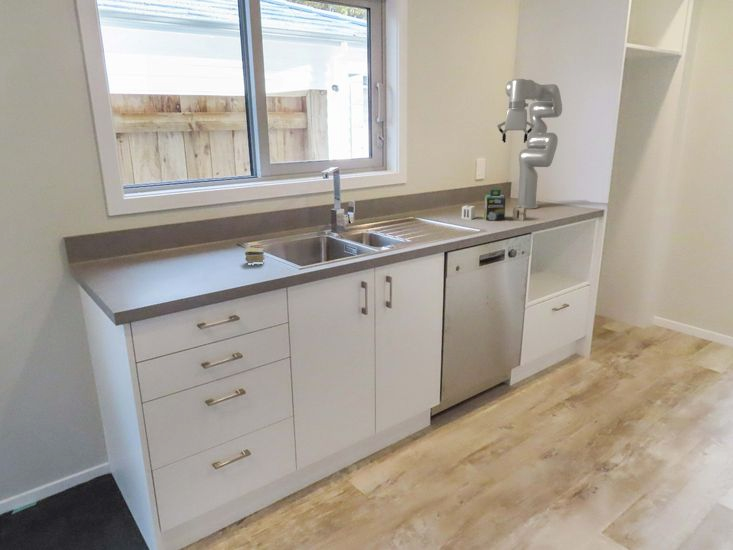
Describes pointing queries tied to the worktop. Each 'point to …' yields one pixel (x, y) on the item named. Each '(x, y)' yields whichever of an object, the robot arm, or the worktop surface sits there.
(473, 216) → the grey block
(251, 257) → the stacked layers on plate
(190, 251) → the worktop surface
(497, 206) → the green boxy container
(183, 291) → the worktop surface
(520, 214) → the birch block
